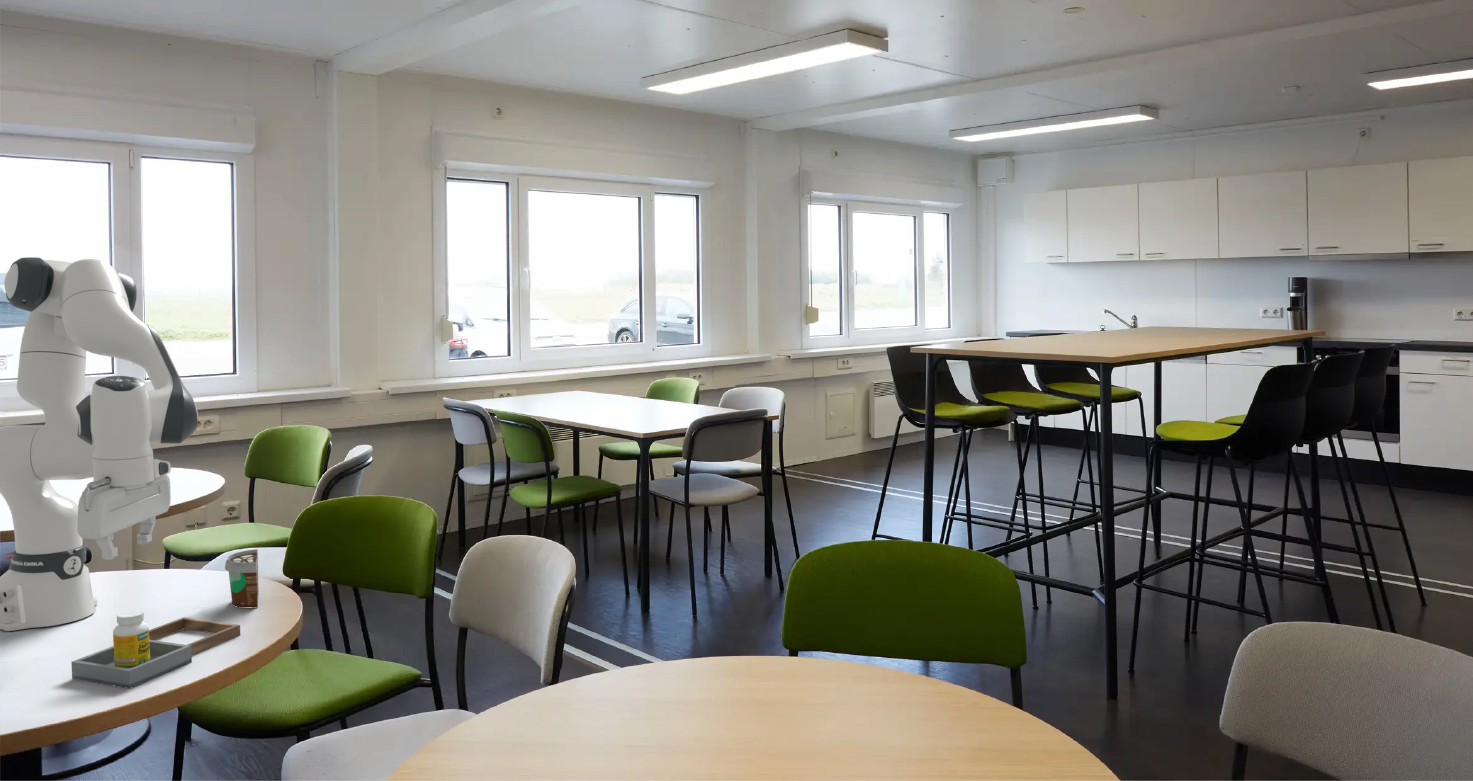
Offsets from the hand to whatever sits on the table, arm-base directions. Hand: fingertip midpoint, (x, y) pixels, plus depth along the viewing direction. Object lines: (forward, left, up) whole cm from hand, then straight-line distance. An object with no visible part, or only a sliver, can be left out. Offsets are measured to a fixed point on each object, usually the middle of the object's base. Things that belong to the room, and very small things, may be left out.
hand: (127, 550), depth 169 cm
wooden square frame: (-3, +13, -21) cm, 25 cm away
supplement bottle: (0, 0, -21) cm, 21 cm away
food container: (-11, +36, -22) cm, 44 cm away
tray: (0, 0, -21) cm, 21 cm away
